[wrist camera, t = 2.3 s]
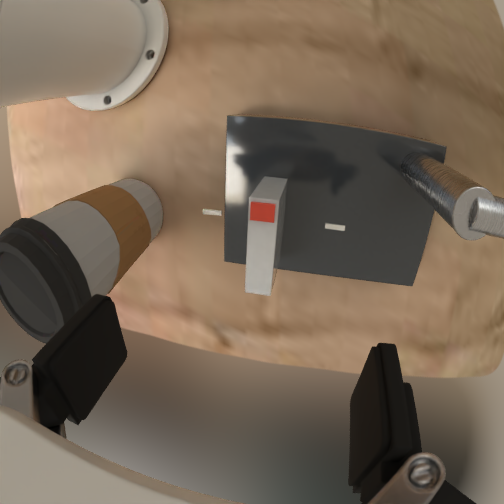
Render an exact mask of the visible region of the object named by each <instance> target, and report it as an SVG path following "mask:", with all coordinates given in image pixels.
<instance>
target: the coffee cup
mask: <svg viewBox="0 0 504 504" xmlns="http://www.w3.org/2000/svg"><path fill="white" fill-rule="evenodd" d="M162 221H163V209H162V204H161V202H160V199H159V197H158V196H157V194H156V192H155V191H154V190H153V189H152V188H151V187H150V186H149V185H147V184H145V183H144V182H141V181H139V180H136V179H123V180H120V181H117V182H114V183H112V184H109V185H104V186H101V187H99V188H96V189H93V190H91V191H88V192H86V193H83V194H81V195H78V196H76V197H73V198H71V199H68V200H66V201H64V202H61V203H59V204H57V205H55V206H54V207H52V208H50V209H48V210H46V211H44V212H41V213H39V214H37V215H35V216H33V217H30V218H21V219H19V220H18V221H15V222H14V223H13V224H12V225H11V226H10V227H9V228H7V229H5V230H4V231H3V232H2V233H1V235H0V300H1V302H2V304H3V305H4V307H5V308H6V310H7V311H8V313H9V314H10V316H11V317H12V318H13V319H14V320H15V321H16V323H17V324H18V325H19V326H20V327H21V328H22V329H24V331H26V332H27V333H28V334H29V335H31V336H32V337H34V338H35V339H37V340H39V341H41V342H43V343H46V344H47V343H48V342H49V340H50V339H51V338H52V337H53V336H54V335H55V334H56V333H57V332H58V331H59V330H60V329H61V328H62V327H63V326H64V325H65V324H66V323H67V322H68V321H69V320H70V319H71V317H72V316H73V315H74V314H75V313H76V312H77V311H78V310H79V309H80V308H81V307H82V306H83V305H84V304H85V303H86V302H87V301H88V300H89V299H90V298H91V297H92V296H93V295H95V294H100V295H104V296H106V295H107V294H108V293H110V291H111V290H112V289H113V288H114V287H115V285H116V284H117V283H118V282H119V280H120V279H121V278H122V277H123V275H124V274H125V273H126V272H127V271H128V269H129V268H130V267H131V266H132V265H133V263H134V262H135V261H136V260H137V259H138V257H139V256H140V255H141V254H142V253H143V252H144V250H145V249H146V248H147V247H148V246H149V243H150V242H151V241H152V240H153V239H154V238H155V236H156V235H157V234H158V233H159V231H160V228H161V226H162Z"/></svg>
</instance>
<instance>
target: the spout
mask: <svg viewBox="0 0 504 504" xmlns="http://www.w3.org/2000/svg"><path fill="white" fill-rule="evenodd" d="M401 173H402V176H403V178H404V180H405V181H406V182H407V183H408V184H409V185H410V186H411V187H412V188H413V189H414V190H415V191H417V192H418V193H419V194H420V195H421V196H422V197H423V198H424V199H425V200H426V201H427V202H428V203H429V204H430V205H431V206H432V207H433V208H434V209H435V210H436V211H437V212H438V213H439V215H440V216H441V217H442V218H443V219H444V220H445V221H446V222H447V223H448V224H449V225H450V226H451V227H452V228H453V229H454V231H455V232H456V233H457V234H458V235H459V236H460V237H462V238H464V239H466V240H477V239H480V238H482V237H484V236H485V235H489V236H494V237H498V238H503V239H504V198H501V197H498V196H494V195H492V193H491V192H490V191H489V190H487V189H486V188H484V187H483V186H481V185H479V184H478V183H476V182H475V181H473V180H471V179H470V178H468V177H466V176H464V175H463V174H461V173H459V172H458V171H456V170H454V169H452V168H450V167H449V166H447V165H445V164H443V163H441V162H439V161H438V160H436V159H434V158H432V157H430V156H428V155H426V154H424V153H422V152H412V153H410V154H408V155H407V156H406V157H405V158H404V160H403V162H402V165H401Z"/></svg>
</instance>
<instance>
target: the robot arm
mask: <svg viewBox="0 0 504 504" xmlns="http://www.w3.org/2000/svg"><path fill="white" fill-rule="evenodd" d="M168 32H169V26H168V17H167V14H166V11H165V8H164V6H163V4H162V3H161V1H160V0H0V107H5V106H10V105H16V104H21V103H27V102H33V101H40V100H47V99H54V98H62V97H66V98H67V100H69V101H70V102H71V103H72V104H73V105H75V106H77V107H79V108H81V109H84V110H90V111H100V110H107V109H112V108H115V107H118V106H120V105H123V104H124V103H126V102H128V101H129V100H131V99H133V98H134V97H135V96H136V95H137V94H138V93H139V92H141V91H142V90H143V89H144V87H145V86H146V85H147V84H148V83H149V82H150V80H151V79H152V77H153V76H154V74H155V73H156V71H157V69H158V68H159V66H160V63H161V61H162V59H163V56H164V54H165V50H166V46H167V42H168ZM154 54H155V55H154ZM153 55H154V57H153ZM126 357H127V350H126V346H125V343H124V339H123V335H122V332H121V328H120V324H119V320H118V316H117V312H116V308H115V304H114V302H112V300H111V298H110V297H108V296H104V295H100V294H95V295H93V296H92V297H91V298H90V299H89V300H88V301H87V302H86V303H85V304H84V305H83V306H82V307H81V308H80V309H79V310H78V311H77V312H76V313H75V314H74V315H73V316H72V317H71V319H70V320H69V321H68V322H67V323H66V324H65V325H64V326H63V327H62V328H61V329H60V330H59V331H58V332H57V333H56V334H55V335H54V336H53V337H52V338H51V339H50V340H49V342H48V343H47V344H46V345H45V346H44V347H43V348H42V349H41V350H40V351H39V352H38V353H37V355H36V356H35V357H34V358H33V359H32V360H33V362H34V364H33V365H32V366H31V364H30V363H29V362H27V361H26V360H22V359H21V360H15V361H12V362H11V363H9V364H8V365H7V366H6V367H5V368H4V370H3V371H2V374H1V377H0V504H244V503H239V502H234V501H229V500H225V499H221V498H217V497H213V496H209V495H205V494H201V493H197V492H194V491H191V490H187V489H184V488H180V487H177V486H174V485H171V484H168V483H165V482H162V481H159V480H156V479H154V478H151V477H148V476H145V475H142V474H140V473H138V472H135V471H132V470H130V469H128V468H125V467H123V466H121V465H118V464H116V463H114V462H111V461H109V460H107V459H105V458H102V457H100V456H98V455H96V454H94V453H92V452H90V451H88V450H86V449H84V448H82V447H80V446H78V445H76V444H74V443H73V442H71V441H69V440H67V439H66V433H65V426H64V421H65V420H66V418H67V419H68V420H69V421H71V422H73V423H75V424H77V425H79V423H80V422H81V420H84V419H86V418H87V416H88V415H89V413H90V412H91V410H92V409H93V407H94V406H95V404H96V403H97V401H98V400H99V398H100V397H101V395H102V393H103V392H104V391H105V389H106V388H107V386H108V385H109V383H110V382H111V380H112V379H113V377H114V376H115V374H116V373H117V372H118V370H119V368H120V367H121V366H122V364H123V363H124V361H125V360H126ZM445 473H446V471H445V467H444V464H443V463H442V461H441V460H440V459H439V458H438V457H437V456H435V455H433V454H431V453H425V452H422V448H421V440H420V433H419V426H418V420H417V414H416V408H415V402H414V397H413V391H412V387H411V385H410V384H409V383H403V380H402V373H401V368H400V363H399V358H398V353H397V348H396V345H395V344H387V343H378V345H377V347H372V348H371V350H370V353H369V355H368V358H367V360H366V363H365V365H364V368H363V370H362V373H361V375H360V378H359V380H358V382H357V385H356V387H355V389H354V392H353V394H352V397H351V401H350V456H349V479H348V483H349V486H353V493H361V498H360V501H361V502H362V504H476V503H474V502H473V501H472V500H471V499H469V498H468V497H467V496H465V495H464V494H462V493H461V492H460V491H459V490H457V489H456V488H455V487H453V486H452V485H451V484H449V483H448V482H447V481H446V480H444V479H445Z"/></svg>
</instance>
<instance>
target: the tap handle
mask: <svg viewBox="0 0 504 504" xmlns="http://www.w3.org/2000/svg"><path fill="white" fill-rule="evenodd" d="M286 192H287V179H285V178H276V177H266V176H264V177H263V179H262V180H261V182H260V183H259V184H258V186H257V187H256V188H255V190H254V191H253V193H252V194H251V195H250V197H249V208H248V230H247V253H246V276H245V292H248V293H254V294H261V295H268V296H270V295H271V292H272V289H273V285H274V281H275V277H276V273H277V269H278V265H279V261H280V256H281V246H282V236H283V225H284V214H285V203H286Z"/></svg>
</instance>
